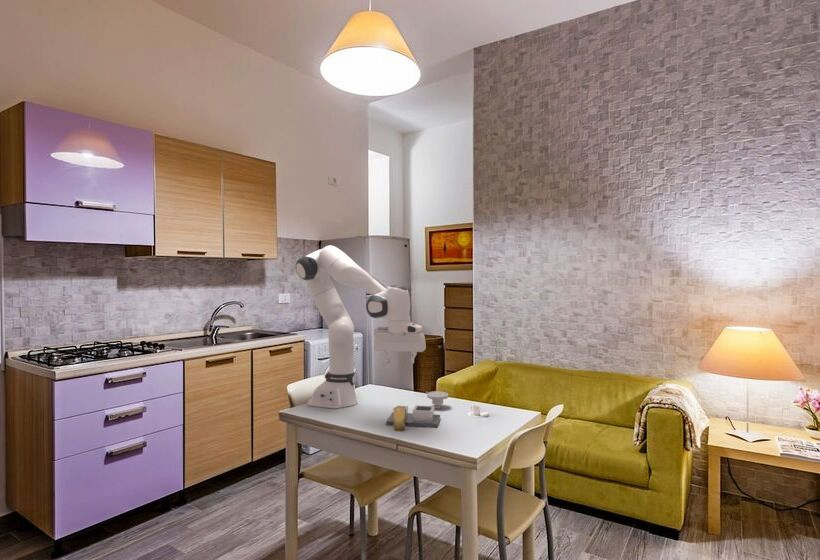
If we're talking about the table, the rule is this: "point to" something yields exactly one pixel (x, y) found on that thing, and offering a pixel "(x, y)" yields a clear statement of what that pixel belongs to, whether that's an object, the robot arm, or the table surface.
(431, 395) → the showerhead
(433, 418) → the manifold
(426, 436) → the table surface
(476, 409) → the teacup and saucer
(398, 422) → the cylinder
